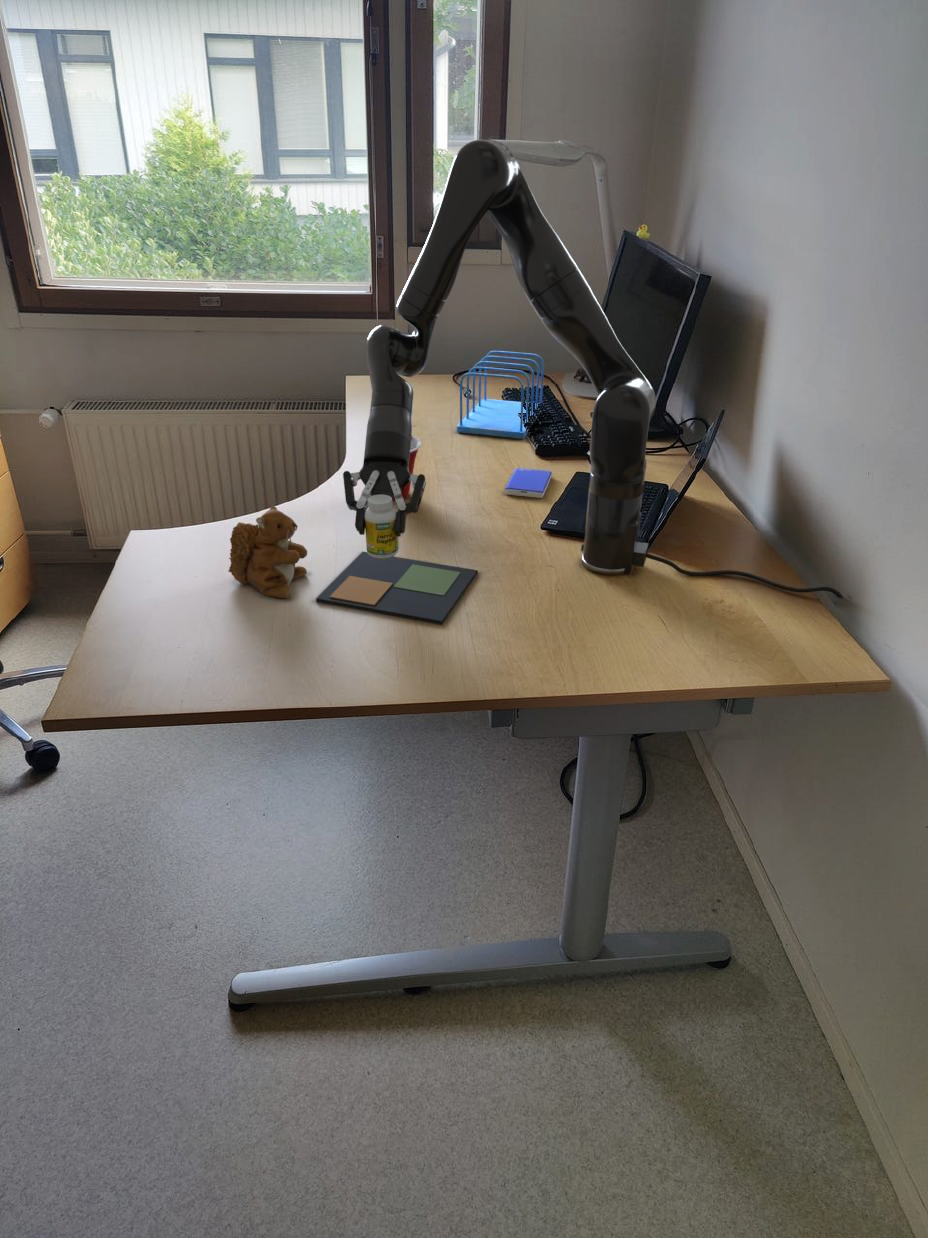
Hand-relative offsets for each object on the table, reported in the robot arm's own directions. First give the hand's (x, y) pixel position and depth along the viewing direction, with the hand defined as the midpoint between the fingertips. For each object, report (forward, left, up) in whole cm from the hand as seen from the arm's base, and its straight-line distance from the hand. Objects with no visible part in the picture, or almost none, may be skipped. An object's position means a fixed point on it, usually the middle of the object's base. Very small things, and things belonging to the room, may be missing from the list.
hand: (379, 533), depth 144 cm
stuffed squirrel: (+20, +3, -11) cm, 23 cm away
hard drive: (-11, -56, -11) cm, 58 cm away
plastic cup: (+14, -41, -11) cm, 44 cm away
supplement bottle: (0, -2, -4) cm, 5 cm away
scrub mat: (-2, -3, -11) cm, 11 cm away
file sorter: (+7, -97, -11) cm, 98 cm away
